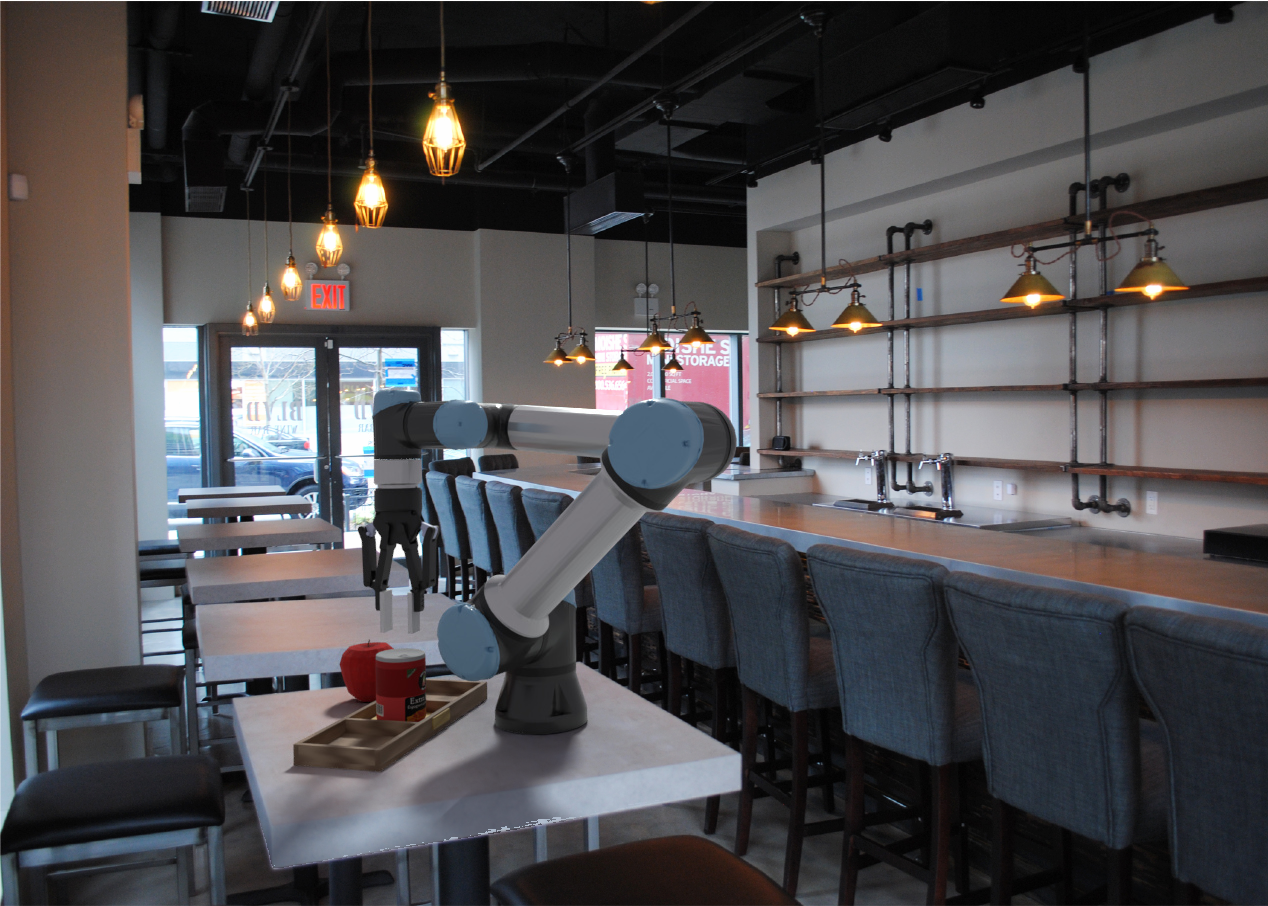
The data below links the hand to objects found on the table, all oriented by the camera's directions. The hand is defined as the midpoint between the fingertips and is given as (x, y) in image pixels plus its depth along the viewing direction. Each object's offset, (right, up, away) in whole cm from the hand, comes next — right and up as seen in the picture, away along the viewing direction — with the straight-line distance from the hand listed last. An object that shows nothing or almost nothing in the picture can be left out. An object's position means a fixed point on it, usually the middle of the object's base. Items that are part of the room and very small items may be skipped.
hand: (400, 631), depth 154 cm
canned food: (0, -15, 0) cm, 15 cm away
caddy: (0, -16, 0) cm, 16 cm away
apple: (-10, -16, +18) cm, 26 cm away
